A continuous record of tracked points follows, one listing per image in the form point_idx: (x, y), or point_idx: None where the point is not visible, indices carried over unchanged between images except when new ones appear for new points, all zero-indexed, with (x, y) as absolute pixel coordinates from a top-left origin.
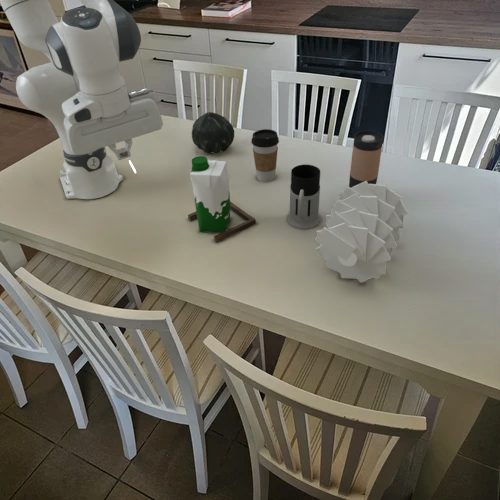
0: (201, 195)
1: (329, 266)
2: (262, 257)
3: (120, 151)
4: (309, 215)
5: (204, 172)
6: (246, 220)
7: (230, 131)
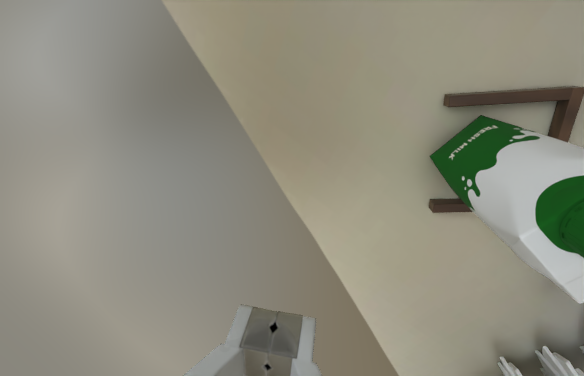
0: (487, 221)
1: (502, 362)
2: (456, 280)
3: (255, 368)
4: None
5: (565, 262)
6: None
7: None
